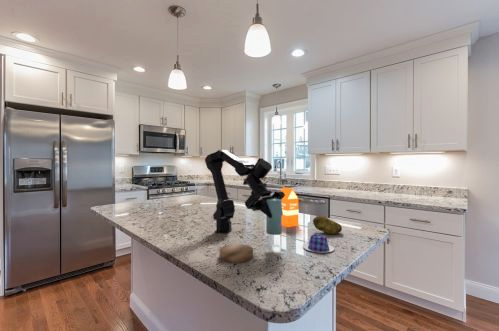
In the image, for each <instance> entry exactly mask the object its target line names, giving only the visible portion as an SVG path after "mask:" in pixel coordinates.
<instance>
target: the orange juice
mask: <svg viewBox="0 0 499 331" xmlns="http://www.w3.org/2000/svg"><path fill="white" fill-rule="evenodd" d="M280 191H283V193H284V194H285V196H284V197H283V199H282V211H283V215H282V227H283V226H284V227H286V228H291V227H296V226H299V211H300V210H299V197H298V195H297V194H296V192H295V190H294V188H291V187H286V186H285V187H282V188H281V190H280Z"/></svg>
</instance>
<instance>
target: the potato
mask: <svg viewBox="0 0 499 331" xmlns="http://www.w3.org/2000/svg"><path fill="white" fill-rule="evenodd" d="M312 222H313V226H314V227H315V229H316V230H318V231H321V232H323V233H325V234H326V235H335V234H339V233H341V232H342V229H343V228H342V225H341V224H340V223H338V222H336V221H334V220H332V219H330V218H328V217H326V216H323V215H317V216H315V217H314V218H313V220H312Z"/></svg>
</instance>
